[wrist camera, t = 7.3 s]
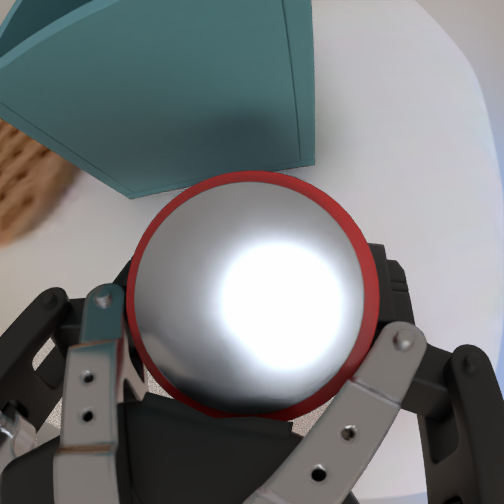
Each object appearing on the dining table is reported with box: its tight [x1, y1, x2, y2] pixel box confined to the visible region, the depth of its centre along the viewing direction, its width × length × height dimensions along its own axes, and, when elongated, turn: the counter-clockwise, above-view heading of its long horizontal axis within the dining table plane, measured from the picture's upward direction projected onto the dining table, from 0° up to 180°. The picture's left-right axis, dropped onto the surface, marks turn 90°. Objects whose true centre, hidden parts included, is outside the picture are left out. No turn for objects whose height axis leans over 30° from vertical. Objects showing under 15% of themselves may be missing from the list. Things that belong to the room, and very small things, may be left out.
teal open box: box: [0, 0, 315, 199], centre depth 14 cm, size 14×12×13 cm
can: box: [126, 171, 380, 421], centre depth 12 cm, size 6×6×10 cm
